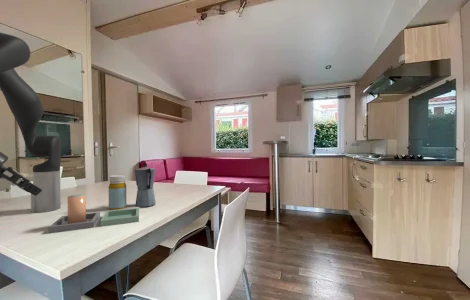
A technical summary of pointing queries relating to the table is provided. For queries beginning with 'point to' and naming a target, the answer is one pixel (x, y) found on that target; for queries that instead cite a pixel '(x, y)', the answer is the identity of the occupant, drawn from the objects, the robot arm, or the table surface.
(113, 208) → the bottle
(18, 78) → the robot arm
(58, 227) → the tray
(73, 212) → the orange cylinder
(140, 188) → the moka pot
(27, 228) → the table surface
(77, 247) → the table surface
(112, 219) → the tray
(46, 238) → the table surface
